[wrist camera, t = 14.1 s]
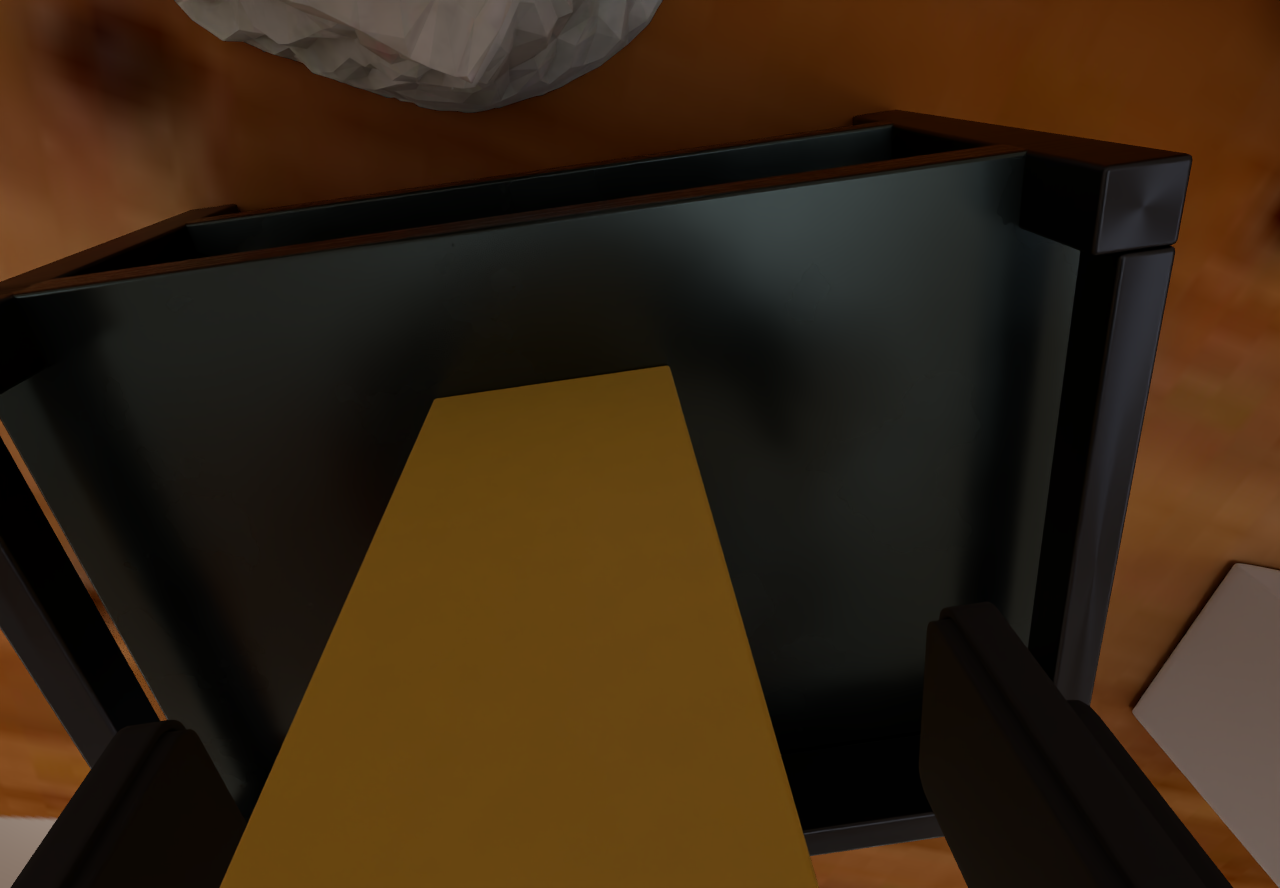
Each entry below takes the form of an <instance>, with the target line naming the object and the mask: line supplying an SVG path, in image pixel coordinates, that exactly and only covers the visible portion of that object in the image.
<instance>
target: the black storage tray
mask: <svg viewBox="0 0 1280 888" xmlns="http://www.w3.org/2000/svg"><path fill="white" fill-rule="evenodd" d="M1191 165H1192V156H1191V155H1189V154H1186V153H1179V152H1173V151H1166V150H1159V149H1153V148H1146V147H1140V146H1133V145H1126V144H1120V143H1113V142H1106V141H1100V140H1094V139H1087V138H1080V137H1074V136H1067V135H1060V134H1054V133H1047V132H1040V131H1034V130H1027V129H1020V128H1014V127H1007V126H1001V125H994V124H987V123H981V122H974V121H968V120H961V119H954V118H948V117H941V116H935V115H928V114H921V113H915V112H908V111H901V110H892V111H885V112H878V113H871V114H864V115H857V116H855V117H853V125H852V126H845V127H838V128H831V129H824V130H817V131H810V132H803V133H796V134H789V135H782V136H775V137H768V138H761V139H754V140H747V141H740V142H733V143H726V144H719V145H712V146H705V147H698V148H691V149H684V150H677V151H670V152H663V153H656V154H648V155H641V156H634V157H627V158H620V159H613V160H606V161H599V162H592V163H585V164H578V165H571V166H564V167H557V168H550V169H543V170H536V171H529V172H522V173H515V174H508V175H501V176H494V177H487V178H480V179H473V180H466V181H459V182H452V183H444V184H437V185H430V186H423V187H416V188H409V189H402V190H395V191H388V192H381V193H374V194H367V195H360V196H353V197H346V198H339V199H332V200H325V201H318V202H311V203H304V204H297V205H290V206H283V207H276V208H269V209H262V210H255V211H248V212H240V213H239V210H238V207H237V205H235V204H230V205H223V206H216V207H209V208H202V209H195V210H190V211H187V212H185V213H182V214H179V215H177V216H174V217H171V218H169V219H166V220H163V221H161V222H158V223H155V224H153V225H150V226H148V227H145V228H142V229H140V230H137V231H134V232H132V233H129V234H126V235H124V236H121V237H118V238H116V239H113V240H110V241H108V242H105V243H102V244H100V245H97V246H95V247H92V248H89V249H87V250H84V251H81V252H79V253H76V254H73V255H71V256H68V257H65V258H63V259H60V260H57V261H55V262H52V263H50V264H47V265H44V266H42V267H39V268H36V269H34V270H31V271H28V272H26V273H23V274H20V275H18V276H15V277H12V278H10V279H7V280H5V281H2V282H0V419H1V421H2V423H3V425H4V426H5V428H6V430H7V432H8V434H9V435H10V437H11V439H12V441H13V443H14V444H15V446H16V448H17V450H18V452H19V453H20V455H21V457H22V459H23V461H24V462H25V464H26V466H27V468H28V470H29V472H30V473H31V475H32V477H33V479H34V481H35V482H36V484H37V486H38V488H39V490H40V491H41V493H42V495H43V497H44V499H45V500H46V502H47V504H48V506H49V508H50V509H51V511H52V513H53V515H54V517H55V518H56V520H57V522H58V524H59V526H60V527H61V529H62V531H63V533H64V535H65V536H66V538H67V540H68V542H69V544H70V545H71V547H72V549H73V551H74V553H75V554H76V556H77V558H78V560H79V562H80V563H81V565H82V567H83V569H84V571H85V572H86V574H87V576H88V578H89V580H90V581H91V583H92V585H93V587H94V589H95V590H96V592H97V594H98V596H99V598H100V599H101V601H102V603H103V605H104V607H105V608H106V610H107V612H108V614H109V616H110V617H111V619H112V621H113V623H114V625H115V626H116V628H117V630H118V632H119V634H120V636H121V637H122V639H123V641H124V643H125V645H126V646H127V648H128V650H129V652H130V654H131V655H132V657H133V659H134V661H135V663H136V664H137V666H138V668H139V670H140V672H141V673H142V675H143V677H144V679H145V681H146V682H147V684H148V686H149V688H150V690H151V691H152V693H153V695H154V697H155V699H156V700H157V702H158V704H159V706H160V708H161V709H162V711H163V713H164V715H165V717H166V718H167V720H177V721H179V722H181V723H182V724H183V726H184V727H185V728H186V729H191V730H193V731H195V732H196V733H197V735H198V736H199V738H200V739H201V741H202V743H203V745H204V747H205V749H206V750H207V752H208V754H209V756H210V758H211V759H212V761H213V763H214V765H215V767H216V769H217V770H218V772H219V774H220V776H221V778H222V779H223V781H224V783H225V785H226V787H227V789H228V790H229V792H230V794H231V796H232V798H233V799H234V801H235V803H236V805H237V807H238V809H239V810H240V812H241V814H242V816H243V818H244V819H245V821H246V823H247V824H248V822H249V819H250V817H251V815H252V813H253V810H254V808H255V806H256V804H257V801H258V799H259V797H260V794H261V792H262V790H263V788H264V785H265V783H266V781H267V779H268V776H269V774H270V772H271V769H272V767H273V765H274V763H275V760H276V758H277V756H278V754H279V751H280V749H281V747H282V744H283V742H284V740H285V738H286V735H287V733H288V731H289V729H290V726H291V724H292V722H293V719H294V717H295V715H296V713H297V710H298V708H299V706H300V703H301V701H302V699H303V697H304V694H305V692H306V690H307V688H308V685H309V683H310V681H311V678H312V676H313V674H314V672H315V669H316V667H317V665H318V663H319V660H320V658H321V656H322V653H323V651H324V649H325V647H326V644H327V642H328V640H329V638H330V635H331V633H332V631H333V628H334V626H335V624H336V622H337V619H338V617H339V615H340V613H341V610H342V608H343V606H344V603H345V601H346V599H347V597H348V594H349V592H350V590H351V587H352V585H353V583H354V581H355V578H356V576H357V574H358V572H359V569H360V567H361V565H362V562H363V560H364V558H365V556H366V553H367V551H368V549H369V547H370V544H371V542H372V540H373V537H374V535H375V533H376V531H377V528H378V526H379V524H380V522H381V519H382V517H383V515H384V512H385V510H386V508H387V506H388V503H389V501H390V499H391V497H392V494H393V492H394V490H395V487H396V485H397V483H398V481H399V478H400V476H401V474H402V471H403V469H404V467H405V465H406V462H407V460H408V458H409V456H410V453H411V451H412V449H413V446H414V444H415V442H416V440H417V437H418V435H419V433H420V431H421V428H422V426H423V424H424V421H425V419H426V417H427V415H428V412H429V410H430V408H431V406H432V403H433V401H434V400H435V399H437V398H444V397H451V396H458V395H465V394H472V393H479V392H486V391H493V390H500V389H507V388H514V387H520V386H527V385H534V384H541V383H548V382H555V381H562V380H569V379H576V378H583V377H590V376H597V375H604V374H611V373H618V372H625V371H632V370H639V369H646V368H653V367H660V366H669V367H670V370H671V373H672V377H673V380H674V384H675V387H676V391H677V394H678V398H679V401H680V405H681V408H682V412H683V415H684V419H685V422H686V426H687V429H688V432H689V436H690V439H691V443H692V446H693V450H694V453H695V457H696V460H697V464H698V467H699V471H700V474H701V478H702V481H703V485H704V488H705V492H706V495H707V499H708V502H709V506H710V509H711V513H712V516H713V520H714V523H715V527H716V530H717V534H718V537H719V541H720V544H721V548H722V551H723V555H724V558H725V562H726V565H727V569H728V572H729V576H730V579H731V583H732V586H733V590H734V593H735V597H736V600H737V604H738V607H739V610H740V614H741V617H742V621H743V624H744V628H745V631H746V635H747V638H748V642H749V645H750V649H751V652H752V656H753V659H754V663H755V666H756V670H757V673H758V677H759V680H760V684H761V687H762V691H763V694H764V698H765V701H766V705H767V708H768V712H769V715H770V719H771V722H772V726H773V729H774V733H775V736H776V740H777V743H778V747H779V750H780V754H781V757H782V761H783V764H784V768H785V771H786V775H787V778H788V782H789V785H790V788H791V792H792V795H793V799H794V802H795V806H796V809H797V813H798V816H799V820H800V823H801V827H802V830H803V834H804V837H805V841H806V844H807V848H808V851H809V855H810V856H814V855H821V854H828V853H834V852H841V851H848V850H855V849H862V848H869V847H876V846H882V845H889V844H896V843H903V842H910V841H917V840H924V839H931V838H937V837H944V834H943V832H942V830H941V828H940V826H939V823H938V821H937V819H936V817H935V815H934V813H933V811H932V808H931V806H930V804H929V802H928V800H927V798H926V795H925V793H924V790H923V787H922V783H921V779H920V774H919V751H920V735H921V718H922V702H923V685H924V669H925V652H926V636H927V626H928V624H929V622H931V621H938V620H939V616H940V612H941V610H942V609H943V608H946V607H952V606H959V605H966V604H973V603H980V602H987V601H988V602H990V603H993V604H994V605H995V606H996V607H997V609H998V610H999V611H1000V612H1001V614H1002V615H1003V616H1004V618H1005V619H1006V620H1007V622H1008V623H1009V624H1010V626H1011V627H1012V628H1013V630H1014V631H1015V632H1016V634H1017V635H1018V636H1019V638H1020V639H1021V640H1022V642H1023V643H1024V644H1025V646H1026V647H1027V648H1028V650H1029V651H1030V652H1031V654H1032V655H1033V656H1034V658H1035V659H1036V660H1037V662H1038V663H1039V664H1040V666H1041V667H1042V668H1043V670H1044V671H1045V672H1046V674H1047V675H1048V676H1049V678H1050V679H1051V680H1052V682H1053V683H1054V684H1055V686H1056V687H1057V688H1058V690H1059V691H1060V692H1061V694H1062V695H1063V696H1064V698H1065V699H1066V700H1080V701H1082V702H1084V703H1085V704H1087V705H1089V706H1090V703H1091V697H1092V692H1093V687H1094V681H1095V676H1096V671H1097V665H1098V660H1099V655H1100V649H1101V644H1102V639H1103V633H1104V628H1105V623H1106V617H1107V612H1108V607H1109V601H1110V596H1111V591H1112V585H1113V580H1114V575H1115V569H1116V564H1117V559H1118V553H1119V548H1120V543H1121V538H1122V532H1123V527H1124V522H1125V516H1126V511H1127V506H1128V500H1129V495H1130V490H1131V484H1132V479H1133V474H1134V468H1135V463H1136V458H1137V452H1138V447H1139V442H1140V436H1141V431H1142V426H1143V420H1144V415H1145V410H1146V404H1147V399H1148V394H1149V388H1150V383H1151V378H1152V373H1153V367H1154V362H1155V357H1156V351H1157V346H1158V341H1159V335H1160V330H1161V325H1162V319H1163V314H1164V309H1165V303H1166V298H1167V293H1168V287H1169V282H1170V277H1171V271H1172V266H1173V261H1174V255H1175V248H1174V247H1173V246H1169V245H1173V244H1175V243H1176V241H1177V239H1178V234H1179V229H1180V223H1181V218H1182V213H1183V207H1184V202H1185V197H1186V191H1187V186H1188V181H1189V176H1190V170H1191ZM0 628H1V630H2V631H3V633H4V635H5V636H6V638H7V639H8V641H9V642H10V644H11V645H12V647H13V649H14V650H15V652H16V653H17V655H18V656H19V658H20V659H21V661H22V663H23V664H24V666H25V667H26V669H27V670H28V672H29V673H30V675H31V677H32V678H33V680H34V681H35V683H36V684H37V686H38V688H39V689H40V691H41V692H42V694H43V695H44V697H45V698H46V700H47V702H48V703H49V705H50V706H51V708H52V709H53V711H54V712H55V714H56V716H57V717H58V719H59V720H60V722H61V723H62V725H63V726H64V728H65V730H66V731H67V733H68V734H69V736H70V737H71V739H72V740H73V742H74V744H75V745H76V747H77V748H78V750H79V751H80V753H81V754H82V756H83V758H84V759H85V761H86V762H87V764H88V765H89V767H90V768H91V769H92V768H93V766H94V765H95V763H96V762H97V760H98V759H99V757H100V756H101V754H102V753H103V751H104V750H105V748H106V747H107V746H108V744H109V743H110V741H111V740H112V738H113V737H114V736H115V735H116V734H117V732H118V731H119V730H121V729H122V728H124V727H126V726H131V725H138V724H145V723H152V722H158V721H160V720H159V718H158V716H157V714H156V713H155V711H154V709H153V707H152V706H151V704H150V702H149V700H148V698H147V697H146V695H145V693H144V691H143V689H142V688H141V686H140V684H139V682H138V681H137V679H136V677H135V675H134V673H133V672H132V670H131V668H130V666H129V665H128V663H127V661H126V659H125V657H124V656H123V654H122V652H121V650H120V648H119V647H118V645H117V643H116V641H115V640H114V638H113V636H112V634H111V632H110V631H109V629H108V627H107V625H106V624H105V622H104V620H103V618H102V616H101V615H100V613H99V611H98V609H97V608H96V606H95V604H94V602H93V600H92V599H91V597H90V595H89V593H88V591H87V590H86V588H85V586H84V584H83V583H82V581H81V579H80V577H79V575H78V574H77V572H76V570H75V568H74V567H73V565H72V563H71V561H70V559H69V558H68V556H67V554H66V552H65V550H64V549H63V547H62V545H61V543H60V542H59V540H58V538H57V536H56V534H55V533H54V531H53V529H52V527H51V526H50V524H49V522H48V520H47V518H46V517H45V515H44V513H43V511H42V509H41V508H40V506H39V504H38V502H37V501H36V499H35V497H34V495H33V493H32V492H31V490H30V488H29V486H28V485H27V483H26V481H25V479H24V477H23V476H22V474H21V472H20V470H19V469H18V467H17V465H16V463H15V461H14V460H13V458H12V456H11V454H10V452H9V451H8V449H7V447H6V445H5V444H4V442H3V440H2V438H1V436H0Z"/></svg>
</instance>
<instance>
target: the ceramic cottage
mask: <svg viewBox="0 0 1280 888" xmlns="http://www.w3.org/2000/svg"><path fill="white" fill-rule="evenodd" d="M174 1H175V2H176V3H177V4H178V5H179V6H180V7H181V8H182V9H183V10H184V12H185V13H186V14H187V15H188V16H189V17H190V18H191V19H192V20H193V21H195V22H196V23H198V24H199V25H200V26H202V27H203V28H205V29H206V30H208V31H209V32H211V33H212V34H214V35H215V36H217V37H218V38H220V39H221V40H223V41H240V42H245V43H247V44H250V45H252V46H255V47H257V48H259V49H261V50H262V51H263V52H266V51H267V52H269V53H271V54H274V55H277V56H281V57H285V58H289V59H292V60H294V61H299V62H301V63H304V64H305V65H306V66H307V68H308V69H309V70H310V71H311V72H312V73H314V74H317V75H321V76H324V77H328V78H331V79H334V80H337V81H339V82H342V83H346V84H348V85H351V86H353V87H356V88H360V89H364V90H367V91H370V92H373V93H376V94H379V95H382V96H384V97H386V98H393V97H395V98H397V99H398V100H400V101H406V102H413V103H415V104H416V105H418V106H419V107H423V108H428V109H433V110H440V111H460V112H464V113H475V112H480V111H485V110H490V109H492V108H501V107H503V106H506V105H509V104H512V103H515V102H518V101H521V100H524V99H527V98H531V97H534V96H540V95H544V94H545V93H547V92H549V91H552V90H554V89H557V88H560V87H562V86H564V85H565V84H567V83H569V82H570V81H572V80H574V79H576V78H578V77H580V76H582V75H584V74H586V73H588V72H590V71H592V70H594V69H596V68H598V67H600V66H601V65H602V64H603V63H605V62H606V61H607V60H609V59H610V58H611V57H612V56H614V55H615V54H616V53H617V52H619V51H620V50H621V49H622V48H624V47H625V46H626V45H628V44H629V43H630V42H631V41H632V40H633V39H634V38H635V37H636V36H637V35H638V34H639V33H640V32H641V31H642V30H643V29H644V28H645V27H646V26H647V25H648V24H649V23H650V22H651V20H652V18H653V16H654V14H655V12H656V10H657V8H658V7H659V5H660V4H661V2H662V1H663V0H174Z"/></svg>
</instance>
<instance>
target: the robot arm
mask: <svg viewBox="0 0 1280 888" xmlns="http://www.w3.org/2000/svg"><path fill="white" fill-rule="evenodd" d="M919 774H920V779H921V783H922V787H923V790H924V793H925V795H926V798H927V800H928V802H929V804H930V806H931V808H932V811H933V813H934V815H935V817H936V819H937V821H938V823H939V826H940V828H941V830H942V832H943V834H944V836H945V839H946V841H947V843H948V845H949V847H950V849H951V852H952V854H953V856H954V858H955V860H956V862H957V864H958V867H959V869H960V871H961V873H962V875H963V877H964V880H965V882H966V884H967V886H968V888H1233V887H1232V886H1231V884H1230V883H1229V882H1228V881H1227V879H1226V878H1225V877H1224V875H1223V874H1222V873H1221V872H1220V870H1219V869H1218V868H1217V866H1216V865H1215V864H1214V863H1213V861H1212V860H1211V859H1210V858H1209V856H1208V855H1207V854H1206V852H1205V851H1204V850H1203V849H1202V847H1201V846H1200V845H1199V843H1198V842H1197V841H1196V840H1195V838H1194V837H1193V836H1192V834H1191V833H1190V832H1189V831H1188V829H1187V828H1186V827H1185V826H1184V824H1183V823H1182V822H1181V820H1180V819H1179V818H1178V817H1177V815H1176V814H1175V813H1174V811H1173V810H1172V809H1171V808H1170V806H1169V805H1168V804H1167V802H1166V801H1165V800H1164V799H1163V797H1162V796H1161V795H1160V793H1159V792H1158V791H1157V790H1156V788H1155V787H1154V786H1153V785H1152V783H1151V782H1150V781H1149V779H1148V778H1147V777H1146V776H1145V774H1144V773H1143V772H1142V770H1141V769H1140V768H1139V767H1138V765H1137V764H1136V763H1135V761H1134V760H1133V759H1132V758H1131V756H1130V755H1129V754H1128V753H1127V751H1126V750H1125V749H1124V747H1123V746H1122V745H1121V744H1120V742H1119V741H1118V740H1117V738H1116V737H1115V736H1114V735H1113V733H1112V732H1111V731H1110V729H1109V728H1108V727H1107V726H1106V724H1105V723H1104V722H1103V720H1102V719H1101V718H1100V717H1099V716H1098V715H1097V713H1096V712H1095V711H1094V710H1093V709H1092V708H1091V707H1090V706H1089V705H1087V704H1085V703H1084V702H1082V701H1080V700H1066V699H1065V698H1064V696H1063V695H1062V694H1061V692H1060V691H1059V690H1058V688H1057V687H1056V686H1055V684H1054V683H1053V682H1052V680H1051V679H1050V678H1049V676H1048V675H1047V674H1046V672H1045V671H1044V670H1043V668H1042V667H1041V666H1040V664H1039V663H1038V662H1037V660H1036V659H1035V658H1034V656H1033V655H1032V654H1031V652H1030V651H1029V650H1028V648H1027V647H1026V646H1025V644H1024V643H1023V642H1022V640H1021V639H1020V638H1019V636H1018V635H1017V634H1016V632H1015V631H1014V630H1013V628H1012V627H1011V626H1010V624H1009V623H1008V622H1007V620H1006V619H1005V618H1004V616H1003V615H1002V614H1001V612H1000V611H999V610H998V609H997V607H996V606H995V605H994V604H993V603H990V602H988V601H987V602H980V603H973V604H966V605H959V606H952V607H946V608H943V609H942V610H941V612H940V616H939V620H938V621H931V622H929V624H928V626H927V636H926V652H925V669H924V685H923V702H922V718H921V735H920V751H919ZM246 826H247V823H246V821H245V819H244V818H243V816H242V814H241V812H240V810H239V809H238V807H237V805H236V803H235V801H234V799H233V798H232V796H231V794H230V792H229V790H228V789H227V787H226V785H225V783H224V781H223V779H222V778H221V776H220V774H219V772H218V770H217V769H216V767H215V765H214V763H213V761H212V759H211V758H210V756H209V754H208V752H207V750H206V749H205V747H204V745H203V743H202V741H201V739H200V738H199V736H198V735H197V733H196V732H195V731H193V730H191V729H186V728H185V727H184V726H183V724H182V723H181V722H179V721H177V720H165V721H158V722H152V723H145V724H138V725H131V726H126V727H124V728H122V729H121V730H119V731H118V732H117V734H116V735H115V736H114V737H113V738H112V740H111V741H110V743H109V744H108V746H107V747H106V748H105V750H104V751H103V753H102V754H101V756H100V757H99V759H98V760H97V762H96V763H95V765H94V766H93V768H92V769H91V770H90V772H89V773H88V775H87V776H86V778H85V779H84V781H83V782H82V784H81V785H80V787H79V788H78V790H77V791H76V792H75V794H74V795H73V797H72V798H71V800H70V801H69V803H68V804H67V806H66V807H65V809H64V810H63V812H62V813H61V814H60V816H59V817H58V819H57V820H56V822H55V823H54V825H53V826H52V828H51V829H50V831H49V832H48V834H47V835H46V837H45V838H44V839H43V841H42V843H41V844H40V845H39V847H38V848H37V850H36V851H35V853H34V854H33V855H32V857H31V858H30V860H29V862H28V863H27V864H26V866H25V867H24V869H23V870H22V872H21V873H20V875H19V876H18V877H17V879H16V880H15V882H14V883H13V885H12V887H11V888H220V885H221V883H222V881H223V879H224V876H225V874H226V872H227V870H228V867H229V865H230V863H231V860H232V858H233V856H234V854H235V851H236V849H237V847H238V845H239V842H240V840H241V838H242V835H243V833H244V831H245V829H246Z"/></svg>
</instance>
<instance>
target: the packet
mask: <svg viewBox="0 0 1280 888" xmlns="http://www.w3.org/2000/svg"><path fill="white" fill-rule="evenodd" d="M220 888H819V886H818V883H817V879H816V876H815V872H814V869H813V865H812V862H811V858H810V855H809V851H808V848H807V844H806V841H805V837H804V834H803V830H802V827H801V823H800V820H799V816H798V813H797V809H796V806H795V802H794V799H793V795H792V792H791V788H790V785H789V782H788V778H787V775H786V771H785V768H784V764H783V761H782V757H781V754H780V750H779V747H778V743H777V740H776V736H775V733H774V729H773V726H772V722H771V719H770V715H769V712H768V708H767V705H766V701H765V698H764V694H763V691H762V687H761V684H760V680H759V677H758V673H757V670H756V666H755V663H754V659H753V656H752V652H751V649H750V645H749V642H748V638H747V635H746V631H745V628H744V624H743V621H742V617H741V614H740V610H739V607H738V604H737V600H736V597H735V593H734V590H733V586H732V583H731V579H730V576H729V572H728V569H727V565H726V562H725V558H724V555H723V551H722V548H721V544H720V541H719V537H718V534H717V530H716V527H715V523H714V520H713V516H712V513H711V509H710V506H709V502H708V499H707V495H706V492H705V488H704V485H703V481H702V478H701V474H700V471H699V467H698V464H697V460H696V457H695V453H694V450H693V446H692V443H691V439H690V436H689V432H688V429H687V426H686V422H685V419H684V415H683V412H682V408H681V405H680V401H679V398H678V394H677V391H676V387H675V384H674V380H673V377H672V373H671V370H670V367H669V366H660V367H653V368H646V369H639V370H632V371H625V372H618V373H611V374H604V375H597V376H590V377H583V378H576V379H569V380H562V381H555V382H548V383H541V384H534V385H527V386H520V387H514V388H507V389H500V390H493V391H486V392H479V393H472V394H465V395H458V396H451V397H444V398H437V399H435V400H434V401H433V403H432V406H431V408H430V410H429V412H428V415H427V417H426V419H425V421H424V424H423V426H422V428H421V431H420V433H419V435H418V437H417V440H416V442H415V444H414V446H413V449H412V451H411V453H410V456H409V458H408V460H407V462H406V465H405V467H404V469H403V471H402V474H401V476H400V478H399V481H398V483H397V485H396V487H395V490H394V492H393V494H392V497H391V499H390V501H389V503H388V506H387V508H386V510H385V512H384V515H383V517H382V519H381V522H380V524H379V526H378V528H377V531H376V533H375V535H374V537H373V540H372V542H371V544H370V547H369V549H368V551H367V553H366V556H365V558H364V560H363V562H362V565H361V567H360V569H359V572H358V574H357V576H356V578H355V581H354V583H353V585H352V587H351V590H350V592H349V594H348V597H347V599H346V601H345V603H344V606H343V608H342V610H341V613H340V615H339V617H338V619H337V622H336V624H335V626H334V628H333V631H332V633H331V635H330V638H329V640H328V642H327V644H326V647H325V649H324V651H323V653H322V656H321V658H320V660H319V663H318V665H317V667H316V669H315V672H314V674H313V676H312V678H311V681H310V683H309V685H308V688H307V690H306V692H305V694H304V697H303V699H302V701H301V703H300V706H299V708H298V710H297V713H296V715H295V717H294V719H293V722H292V724H291V726H290V729H289V731H288V733H287V735H286V738H285V740H284V742H283V744H282V747H281V749H280V751H279V754H278V756H277V758H276V760H275V763H274V765H273V767H272V769H271V772H270V774H269V776H268V779H267V781H266V783H265V785H264V788H263V790H262V792H261V794H260V797H259V799H258V801H257V804H256V806H255V808H254V810H253V813H252V815H251V817H250V819H249V822H248V824H247V826H246V829H245V831H244V833H243V835H242V838H241V840H240V842H239V845H238V847H237V849H236V851H235V854H234V856H233V858H232V860H231V863H230V865H229V867H228V870H227V872H226V874H225V876H224V879H223V881H222V883H221V885H220Z"/></svg>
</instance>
